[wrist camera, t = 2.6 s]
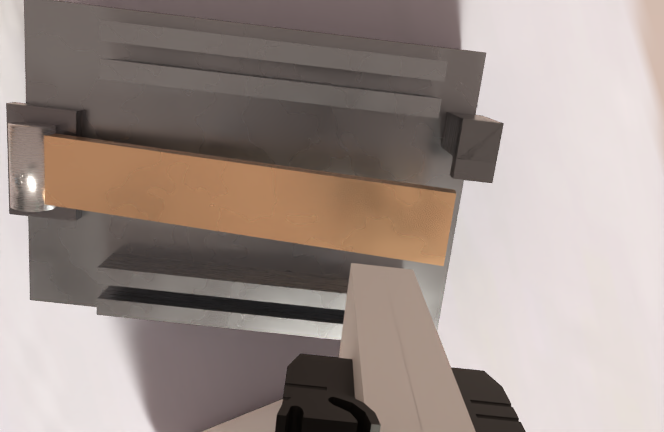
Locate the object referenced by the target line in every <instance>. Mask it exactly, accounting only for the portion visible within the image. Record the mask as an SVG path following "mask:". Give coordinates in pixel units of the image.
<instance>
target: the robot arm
mask: <svg viewBox="0 0 664 432" xmlns="http://www.w3.org/2000/svg"><path fill="white" fill-rule="evenodd" d="M518 419H519V418H518V416H517V414H516V412H515V410H514V408H513V407H511V403H510V401H509V399H508V397H507V395H506V393H505V391H504V389H503V387H502V386H501V385H500V384H498V383H497V382H496V381H495V380H494V379H493V378H492V377H490V376H489V375H488V374H487V373H486V372H485V371H480V370H471V369H461V368H451V367H450V364H449V361H448V359H447V356H446V354H445V351H444V348H443V346H442V343H441V341H440V338H439V335H438V333H437V330H436V328H435V325H434V323H433V320H432V317H431V315H430V312H429V310H428V307H427V304H426V302H425V299H424V297H423V294H422V291H421V289H420V286H419V284H418V281H417V278H416V276H415V273H414V271H413V270H412V269H402V268H393V267H384V266H375V265H366V264H357V263H351V267H350V275H349V283H348V290H347V298H346V305H345V313H344V321H343V328H342V336H341V344H340V351H339V358H336V357H327V356H317V355H308V354H300V355H299V356H298V357H297V358H296V359H295V360H294V361H293V362H292V363H291V364H290V365H289V366H288V367H287V374H286V381H285V388H284V395H283V402H282V405H281V407H280V409H279V411H278V413H277V417H276V427H275V432H525V430H524V428H523V426H522V424H521V422H519V421H518Z"/></svg>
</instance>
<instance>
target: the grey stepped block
mask: <svg viewBox="0 0 664 432" xmlns="http://www.w3.org/2000/svg"><path fill="white" fill-rule="evenodd" d="M24 22H25V72H26V103H18V102H12V103H6V109H7V143H8V178H9V213H10V214H15V215H24V216H28V222H29V272H30V300H35V301H45V302H54V303H64V304H73V305H83V306H92V307H97V315H105V316H115V317H124V318H134V319H144V320H153V321H163V322H172V323H182V324H192V325H201V326H211V327H220V328H230V329H239V330H249V331H259V332H268V333H278V334H287V335H297V336H307V337H316V338H326V339H335V340H341V336H342V328H343V321H344V313H345V305H346V298H347V290H348V283H349V275H350V267H351V263H357V264H366V265H375V266H384V267H393V268H402V269H412V270H413V271H414V273H415V276H416V278H417V281H418V284H419V286H420V289H421V291H422V294H423V297H424V299H425V302H426V304H427V307H428V310H429V312H430V315H431V317H432V320H433V323H434V325H435V328H436V330H437V328H438V323H439V317H440V311H441V306H442V300H443V294H444V289H445V283H446V277H447V272H448V266H449V261H450V255H451V249H452V244H453V238H454V232H455V227H456V221H457V215H458V210H459V204H460V198H461V193H462V187H463V181H464V180H469V181H478V182H487V183H492V182H493V176H494V171H495V166H496V161H497V155H498V150H499V145H500V139H501V134H502V129H503V123H501V122H498V121H495V120H493V119H490V118H487V117H484V116H481V115H475V114H476V108H477V102H478V97H479V91H480V85H481V80H482V74H483V68H484V63H485V57H486V53H484V52H476V51H468V50H459V49H451V48H443V47H435V46H426V45H418V44H410V43H402V42H393V41H385V40H377V39H368V38H360V37H352V36H344V35H335V34H327V33H319V32H310V31H302V30H294V29H286V28H277V27H269V26H261V25H253V24H244V23H236V22H228V21H219V20H211V19H203V18H195V17H186V16H178V15H170V14H161V13H153V12H145V11H137V10H128V9H120V8H112V7H103V6H95V5H87V4H79V3H70V2H62V1H54V0H24ZM11 122H34V123H42V124H51V125H55V126H56V134H63V135H70V136H77V137H84V138H91V139H98V140H106V141H113V142H120V143H127V144H134V145H141V146H148V147H155V148H162V149H170V150H177V151H184V152H191V153H198V154H205V155H212V156H219V157H226V158H234V159H241V160H248V161H255V162H262V163H269V164H276V165H283V166H290V167H298V168H305V169H312V170H319V171H326V172H333V173H340V174H347V175H354V176H362V177H369V178H376V179H383V180H390V181H397V182H404V183H411V184H418V185H426V186H433V187H440V188H447V189H454V190H455V191H456V199H455V204H454V210H453V216H452V222H451V227H450V233H449V239H448V244H447V250H446V256H445V262H444V266H439V265H432V264H426V263H420V262H413V261H407V260H400V259H394V258H387V257H381V256H374V255H368V254H362V253H355V252H349V251H342V250H336V249H329V248H323V247H316V246H310V245H304V244H297V243H291V242H284V241H278V240H271V239H265V238H258V237H252V236H246V235H239V234H233V233H226V232H220V231H213V230H207V229H200V228H194V227H187V226H181V225H175V224H168V223H162V222H155V221H149V220H142V219H136V218H129V217H123V216H117V215H110V214H104V213H97V212H91V211H84V210H78V209H71V208H65V207H59V206H56V208H54V209H52V210H48V211H41V212H24V211H18V210H14V209H12V208H11V207H10V174H9V138H8V123H11Z"/></svg>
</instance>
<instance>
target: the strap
mask: <svg viewBox="0 0 664 432" xmlns="http://www.w3.org/2000/svg"><path fill="white" fill-rule="evenodd" d="M8 138H9V174H10V207H11V208H12V209H14V210H18V211H24V212H41V211H48V210H52V209H54V208H56V206H59V207H65V208H71V209H78V210H84V211H91V212H97V213H104V214H110V215H117V216H123V217H129V218H136V219H142V220H149V221H155V222H162V223H168V224H175V225H181V226H187V227H194V228H200V229H207V230H213V231H220V232H226V233H233V234H239V235H246V236H252V237H258V238H265V239H271V240H278V241H284V242H291V243H297V244H304V245H310V246H316V247H323V248H329V249H336V250H342V251H349V252H355V253H362V254H368V255H374V256H381V257H387V258H394V259H400V260H407V261H413V262H420V263H426V264H432V265H439V266H444V262H445V256H446V250H447V244H448V239H449V233H450V227H451V222H452V216H453V210H454V204H455V199H456V191H455V190H454V189H447V188H440V187H433V186H426V185H418V184H411V183H404V182H397V181H390V180H383V179H376V178H369V177H362V176H354V175H347V174H340V173H333V172H326V171H319V170H312V169H305V168H298V167H290V166H283V165H276V164H269V163H262V162H255V161H248V160H241V159H234V158H226V157H219V156H212V155H205V154H198V153H191V152H184V151H177V150H170V149H162V148H155V147H148V146H141V145H134V144H127V143H120V142H113V141H106V140H98V139H91V138H84V137H77V136H70V135H63V134H56V126H55V125H51V124H42V123H34V122H11V123H8Z"/></svg>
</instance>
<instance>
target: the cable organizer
mask: <svg viewBox="0 0 664 432" xmlns="http://www.w3.org/2000/svg"><path fill="white" fill-rule="evenodd" d="M282 402H283V399H281V400H279V401H276V402H274V403H271V404H269V405H266V406H264V407H261V408H259V409H256V410H254V411H251V412H249V413H247V414H244V415H242V416H239V417H237V418H234V419H232V420H229V421H227V422H224V423H222V424H219V425H217V426H214V427H212V428H209V429H207V430H204V431H202V432H275V427H276V417H277V413H278V411H279V409H280V407H281V405H282Z"/></svg>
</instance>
